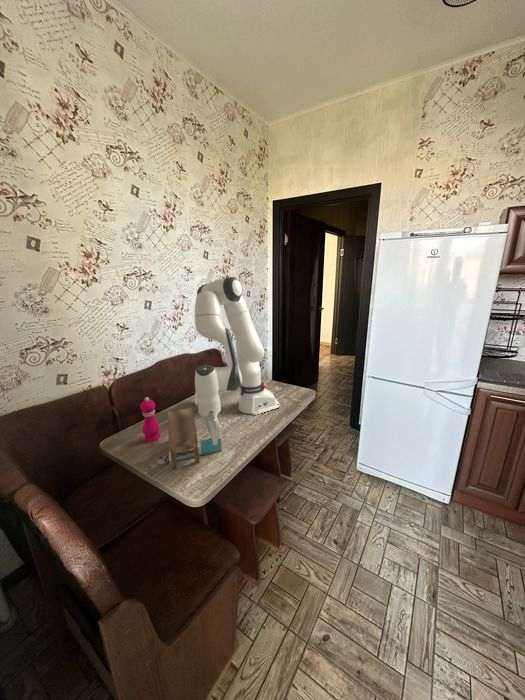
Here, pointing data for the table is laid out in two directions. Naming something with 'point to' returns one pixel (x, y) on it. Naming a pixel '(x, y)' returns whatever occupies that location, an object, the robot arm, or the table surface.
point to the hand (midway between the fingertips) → (212, 437)
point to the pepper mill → (150, 421)
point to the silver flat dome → (163, 460)
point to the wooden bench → (182, 433)
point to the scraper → (205, 449)
